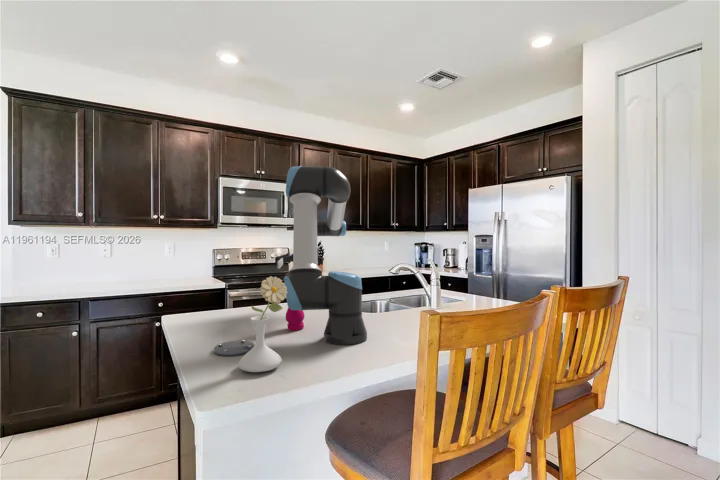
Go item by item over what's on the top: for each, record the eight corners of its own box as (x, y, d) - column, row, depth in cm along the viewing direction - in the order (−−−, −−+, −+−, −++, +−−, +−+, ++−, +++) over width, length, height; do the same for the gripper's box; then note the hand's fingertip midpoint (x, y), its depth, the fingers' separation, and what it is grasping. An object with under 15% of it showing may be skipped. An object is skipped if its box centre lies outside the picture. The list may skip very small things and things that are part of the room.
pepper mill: (290, 324, 142) (286, 275, 140) (307, 324, 141) (304, 275, 139) (283, 331, 135) (279, 280, 133) (302, 331, 134) (298, 279, 132)
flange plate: (260, 345, 117) (260, 340, 117) (242, 357, 106) (242, 352, 106) (227, 343, 119) (227, 338, 119) (205, 355, 108) (205, 349, 108)
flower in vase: (240, 379, 89) (239, 280, 89) (236, 364, 100) (235, 275, 99) (291, 371, 94) (291, 277, 94) (283, 358, 105) (282, 273, 105)
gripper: (331, 262, 164) (326, 275, 143) (277, 260, 164) (264, 274, 143) (331, 246, 162) (326, 257, 141) (277, 244, 163) (264, 256, 142)
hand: (295, 265), depth 142 cm, fingers open, 13 cm apart
